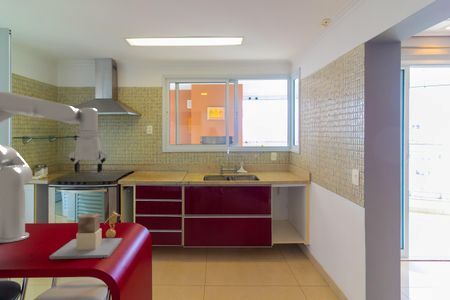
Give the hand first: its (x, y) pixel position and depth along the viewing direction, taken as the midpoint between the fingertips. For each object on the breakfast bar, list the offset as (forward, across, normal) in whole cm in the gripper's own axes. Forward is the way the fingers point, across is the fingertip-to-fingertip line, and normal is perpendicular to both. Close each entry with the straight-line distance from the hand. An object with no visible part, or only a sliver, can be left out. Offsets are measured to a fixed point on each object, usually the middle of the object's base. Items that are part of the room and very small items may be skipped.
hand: (88, 172), depth 134 cm
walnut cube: (+21, +8, -21) cm, 31 cm away
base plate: (+28, +8, -21) cm, 36 cm away
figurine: (+28, +13, -8) cm, 32 cm away
